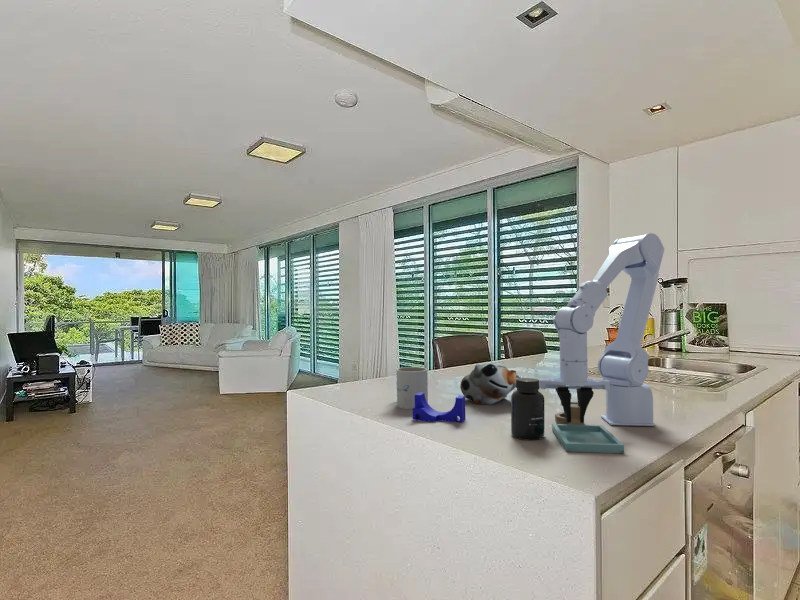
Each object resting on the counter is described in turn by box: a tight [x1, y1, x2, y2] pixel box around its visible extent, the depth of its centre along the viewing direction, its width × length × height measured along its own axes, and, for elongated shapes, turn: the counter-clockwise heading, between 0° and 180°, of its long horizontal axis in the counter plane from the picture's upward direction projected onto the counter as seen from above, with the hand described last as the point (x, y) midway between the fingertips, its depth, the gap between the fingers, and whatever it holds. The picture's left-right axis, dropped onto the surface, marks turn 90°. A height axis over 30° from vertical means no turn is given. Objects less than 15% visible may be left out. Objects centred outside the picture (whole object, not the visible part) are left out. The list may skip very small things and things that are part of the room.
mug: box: [396, 366, 429, 410], centre depth 126 cm, size 12×9×10 cm
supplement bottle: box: [510, 377, 545, 441], centre depth 95 cm, size 7×7×12 cm
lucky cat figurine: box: [460, 362, 522, 406], centre depth 128 cm, size 15×12×14 cm
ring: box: [554, 404, 585, 425], centre depth 103 cm, size 9×6×5 cm, turn 172°
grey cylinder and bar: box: [560, 401, 578, 417], centre depth 105 cm, size 4×2×5 cm, turn 82°
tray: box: [551, 423, 625, 454], centre depth 91 cm, size 10×14×2 cm
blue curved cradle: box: [412, 392, 467, 424], centre depth 109 cm, size 12×4×6 cm, turn 67°
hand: (574, 421), depth 100 cm, fingers closed on ring
